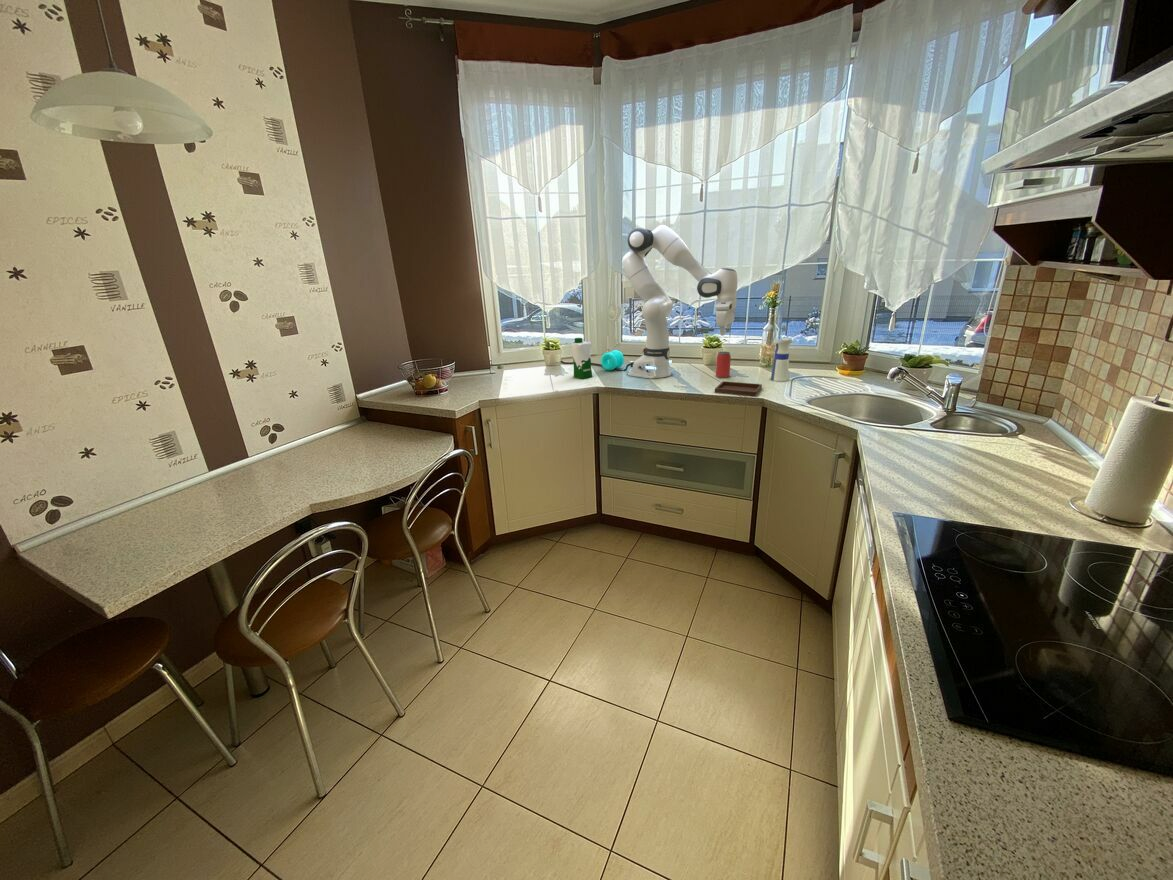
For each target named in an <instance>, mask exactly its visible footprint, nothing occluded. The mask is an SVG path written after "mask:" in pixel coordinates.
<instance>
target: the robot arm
mask: <svg viewBox="0 0 1173 880" xmlns="http://www.w3.org/2000/svg"><path fill="white" fill-rule="evenodd" d="M626 243H627V246H628V248H629V251H628V252H627V253H625V254H624V256H623V257H622V260H621V265H622V267H623V270H624V272H625V275H626V277H627V278H628V280H629V282H630V284H631V286H632V288H633V290H634V291H635V293H636V294H637V296H639V298H641V299H642V300H643V302H644V304H643V306H642V308H641V313H642V314H641V315H642V316H643V319H644V324H645V330H646V347H645V348H643V349H642V353H643V354H642V355H640V357H638V358H637V359H636V360H634V361H631V362H630V363H627V365H626V366H625V368H624V369H620V368H615V369H613V370H612V371H615V372H625V371H627V370H628V368H629V367H630V368H632V369H631V370H629V371H628V373H627V376H630V377H636V378H643V379H651V380H652V379H658V378H659V379H662V378H668V377H670V376H672V371H671V368H670V367H671V366H670V364H671V363H672V360H670V355H671V354H670V353H671V352H670V332H669V331H670V330H669V328H668V323H667V317H669V315H671V313H672V311H673V309H674V303H673V301H672V299H671V298H670V297H669V296H668V294H667V293H666V292H665V290H664V289H663V288H662V287H661V286H660V284H659V283H658V281H657V280H656V277H655V276H654V274H653V273H652V271H651V269H650V266H649V265H648V263H647V261H646V259H645V257H647V256H648V254H649V253H650V252H651V251H652V249H655V250H656V251H658V252H659V254H661V255H662V257H663V258H664V259H665V260H666V261H667V262H668V263H670V264H671V265H673V266H675V267H679V268H682V269H684V270H686V271H687V272H688V273H689V274H690V275H691V276H692V277H693V278H694V279H695V280H696V281H697V282H698V283H697V285H696V291H697V293H698V295H699V296H700V297H702V298H706V299H709V298H712V297H716V304H715V306H714V310H715V311H716V312H715V323H716V327H717V328H719V332H720V336H722V337H724V336H725V335H726V333H730V332H731V327H732V323H733V322H734V321H735V318H736V317H735V315H736V314H735V313H736V311H735V309H736V308H737V302H738V301H737V299H738V295H737V290H738V273H737V270H735V269H733V268H729V267H721V268H720V269H718V270H717V271H715V272H713V273H711V272H709V271H708V270H707V269H706V268H705V266H703V265H702V263H700V262H699V261H698V259H697V258H695V256H694V255H693V253H692V252H691V250H690V248H689V247H688V245H686V243H685V241H684V240H683V239H682V238H681V237H680V236H679V234H677V233H676V232H675V231H674V230H673V229H671V228H670V227H668V226H667V225H665V224H661V225H658V226H657V227H656V228H654V230H651V229H648V228H644V227H635V228H633V229H632V230H630V232H628V234H627V238H626ZM560 363H561V364H564V365H574V363H573V361H572V362H569V361H568V362H567V361H563V360H561V362H560ZM592 365H593V366H599V367H602V368H603V366H602V364H601V363H595V362H591V366H592Z"/></svg>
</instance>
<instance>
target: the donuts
mask: <svg viewBox="0 0 1173 880" xmlns="http://www.w3.org/2000/svg"><path fill="white" fill-rule="evenodd" d="M624 363H625V357H624V354H623V353H622V352H621V351H620V350H617V349H613V350H611V351H609V352H604V353H603V354H602V356H601V358H600V364H601V365H602V366H603V367H602V366H601V367H602V368H603V369H604V370H606V371H609V372H611V371H614V370H613V369H620V368H621V367H623V365H624Z"/></svg>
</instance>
